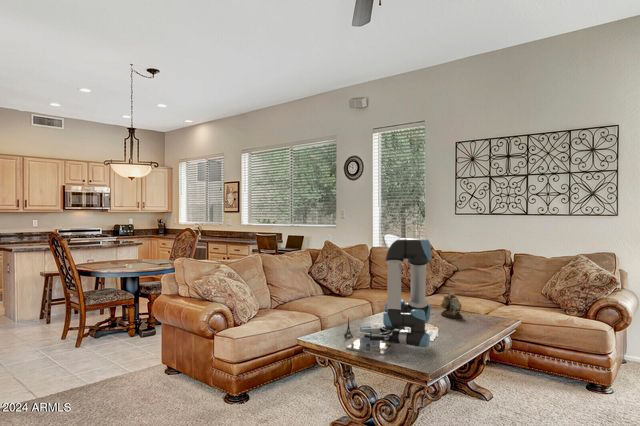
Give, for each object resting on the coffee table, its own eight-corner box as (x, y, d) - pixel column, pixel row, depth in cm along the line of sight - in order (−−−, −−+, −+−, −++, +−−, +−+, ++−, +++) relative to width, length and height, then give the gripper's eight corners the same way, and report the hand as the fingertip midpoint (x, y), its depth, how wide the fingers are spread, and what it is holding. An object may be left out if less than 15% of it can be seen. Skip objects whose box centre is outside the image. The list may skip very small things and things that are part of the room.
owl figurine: (435, 314, 319) (435, 291, 319) (446, 312, 326) (446, 290, 326) (456, 320, 304) (456, 295, 304) (466, 317, 311) (466, 293, 311)
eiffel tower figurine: (364, 338, 266) (364, 316, 265) (353, 342, 258) (353, 319, 258) (345, 333, 276) (345, 312, 276) (334, 336, 269) (334, 315, 269)
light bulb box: (361, 348, 242) (361, 328, 242) (359, 344, 249) (359, 325, 249) (380, 347, 243) (380, 328, 243) (377, 343, 250) (377, 324, 250)
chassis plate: (357, 341, 258) (357, 335, 258) (393, 346, 248) (393, 341, 247) (346, 349, 244) (346, 343, 244) (383, 355, 234) (383, 349, 233)
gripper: (392, 350, 226) (355, 344, 236) (407, 337, 248) (372, 332, 258) (392, 336, 226) (355, 330, 236) (407, 324, 248) (372, 319, 258)
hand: (364, 331), depth 247 cm, fingers open, 13 cm apart
